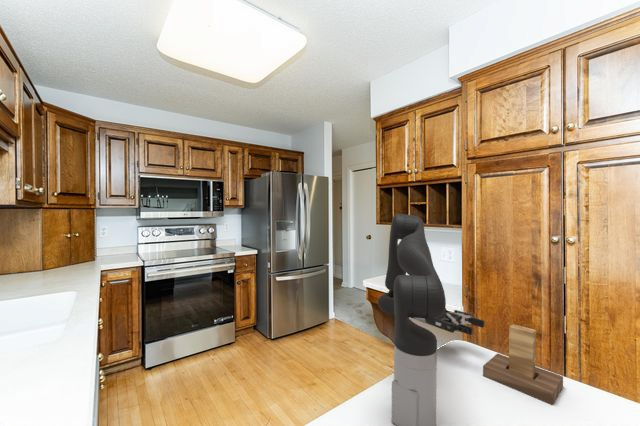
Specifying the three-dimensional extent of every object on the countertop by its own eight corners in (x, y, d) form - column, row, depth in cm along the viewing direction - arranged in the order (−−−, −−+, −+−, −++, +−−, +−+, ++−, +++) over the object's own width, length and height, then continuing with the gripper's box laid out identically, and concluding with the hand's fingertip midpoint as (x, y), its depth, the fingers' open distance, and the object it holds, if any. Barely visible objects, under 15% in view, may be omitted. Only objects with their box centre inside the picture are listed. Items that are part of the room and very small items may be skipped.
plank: (532, 388, 78) (533, 333, 77) (508, 379, 82) (509, 326, 81) (535, 384, 80) (536, 330, 79) (512, 375, 84) (512, 323, 83)
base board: (552, 405, 71) (552, 393, 71) (482, 375, 83) (483, 365, 83) (563, 387, 78) (563, 376, 78) (497, 362, 90) (497, 353, 90)
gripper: (418, 306, 97) (468, 321, 84) (439, 298, 106) (487, 310, 93) (418, 328, 97) (468, 346, 84) (439, 318, 106) (487, 333, 94)
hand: (478, 327), depth 89 cm, fingers open, 8 cm apart
